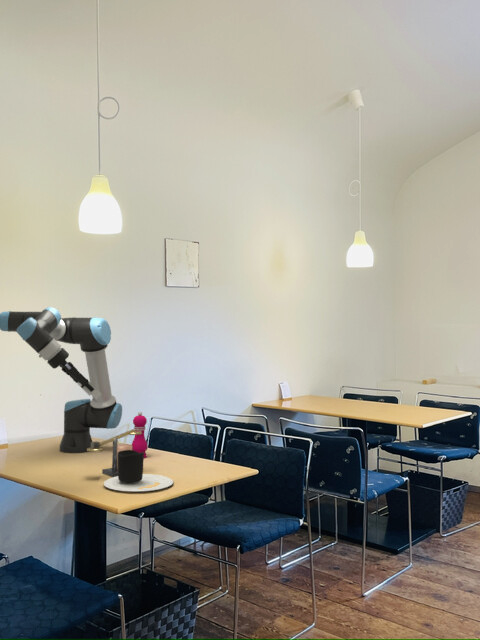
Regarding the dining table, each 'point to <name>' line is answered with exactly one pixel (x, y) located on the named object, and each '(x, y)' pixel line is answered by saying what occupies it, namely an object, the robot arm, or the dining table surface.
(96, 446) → the balance
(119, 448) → the tan boxy piece
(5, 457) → the dining table surface
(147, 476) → the plate
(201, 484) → the dining table surface
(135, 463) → the pen holder
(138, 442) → the pepper mill
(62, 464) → the dining table surface
